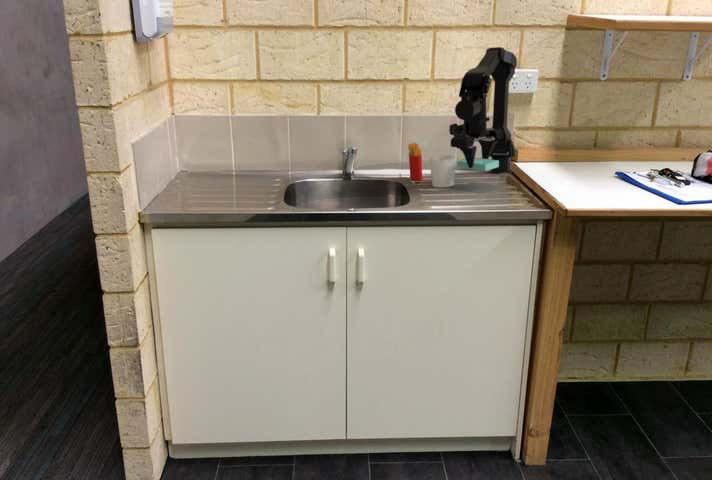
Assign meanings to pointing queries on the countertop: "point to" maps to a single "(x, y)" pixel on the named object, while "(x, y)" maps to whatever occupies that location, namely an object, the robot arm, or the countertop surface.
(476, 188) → the mat
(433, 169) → the white cup
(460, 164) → the lid
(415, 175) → the french fries
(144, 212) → the countertop surface
